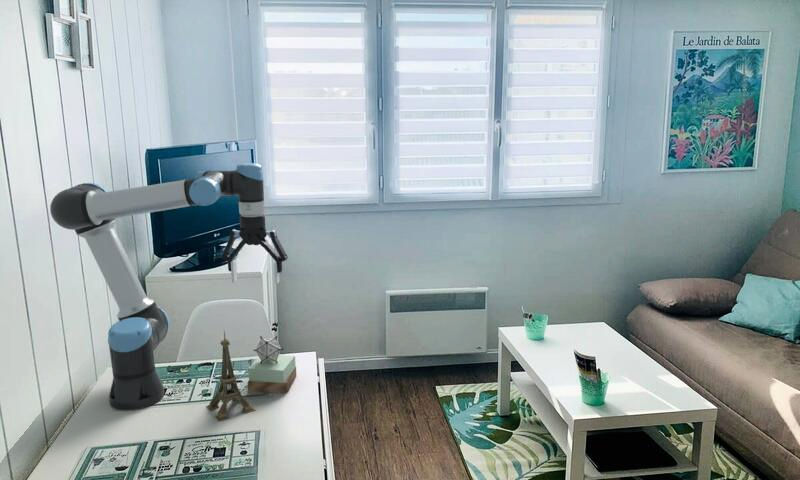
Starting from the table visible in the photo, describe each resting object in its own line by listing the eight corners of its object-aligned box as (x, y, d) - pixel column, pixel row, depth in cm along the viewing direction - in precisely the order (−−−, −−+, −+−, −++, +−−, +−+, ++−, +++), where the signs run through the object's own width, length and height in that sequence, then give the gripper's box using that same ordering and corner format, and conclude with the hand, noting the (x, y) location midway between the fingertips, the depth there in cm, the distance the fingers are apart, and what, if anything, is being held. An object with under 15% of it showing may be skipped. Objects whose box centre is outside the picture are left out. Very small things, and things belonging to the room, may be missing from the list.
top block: (249, 380, 197) (248, 368, 196) (262, 365, 208) (261, 353, 207) (283, 383, 195) (283, 370, 194) (295, 367, 206) (295, 355, 205)
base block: (248, 394, 197) (247, 382, 196) (259, 376, 209) (258, 365, 208) (287, 395, 196) (286, 382, 195) (296, 377, 208) (296, 366, 207)
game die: (274, 370, 203) (291, 342, 205) (270, 372, 195) (288, 343, 196) (250, 356, 204) (267, 328, 205) (244, 357, 195) (262, 328, 197)
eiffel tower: (241, 396, 195) (235, 317, 189) (254, 410, 186) (249, 328, 180) (206, 406, 189) (199, 325, 183) (218, 421, 180) (211, 336, 174)
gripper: (207, 216, 195) (212, 284, 200) (289, 217, 192) (292, 286, 197) (217, 211, 202) (221, 277, 207) (295, 213, 200) (298, 279, 205)
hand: (255, 282), depth 202 cm, fingers open, 13 cm apart
